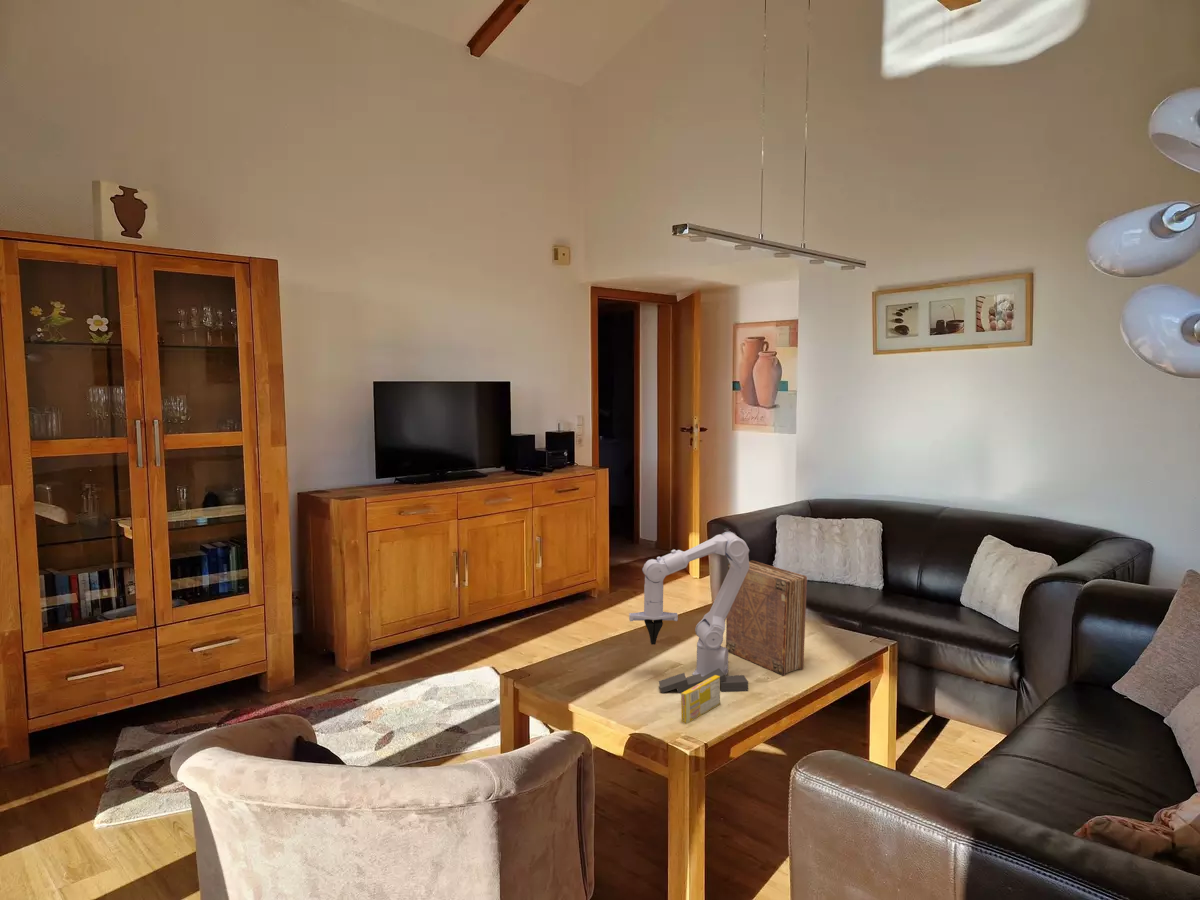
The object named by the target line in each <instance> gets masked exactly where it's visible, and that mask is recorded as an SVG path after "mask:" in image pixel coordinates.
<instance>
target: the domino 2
mask: <svg viewBox="0 0 1200 900" xmlns="http://www.w3.org/2000/svg"><path fill="white" fill-rule="evenodd" d="M686 679H687V682H688V685H685V686H682V687H679V688H676V691H677V694H681V693H682V692H684V691H686V690H688V689H690V688H692V687H694V686H695V685H697V684H699V683H701V682H703V679H702V676H701V674H697V675H691V676H688V677H686Z"/></svg>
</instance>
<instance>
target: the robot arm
mask: <svg viewBox="0 0 1200 900" xmlns="http://www.w3.org/2000/svg"><path fill="white" fill-rule="evenodd" d="M749 553H750V549H749V547H748V544H747V542H746V541H745V540H744V539H742V538H740V537H739V536H737V534H735V533H734V532H733V531H732V532H731V531H725V532H722V533H721V534H716V535H714V536H713V537H712V538H710V539H707V540H706V541H704V542H702V543H699V544H697V545H695V546H692V547H691V548H689V549H687V550H685V551H683V550H681V549H677V550H676V549H674V548H673V549H672V550H670V553H667V554H665V555H662V556H657V557H656V559H654V558H651V559H648V560H647V561H645V563H644V564H643V567H642V573H643V574H644V585H643V587H644V589H643V590H644V591H643V595H644V596H643V597H644V598H643V599H644V600H643V611H638V612H629V613H628V614H629V615H628V619H629V622H634V621H635V622H637V621H644V625H645V627H646V629H647V631H648V634H649V635H648V636H649V642H650V645H651V646H653V645H657V639H658V636H659V633H660V632H661V629H662V627H663V625H664V622H663V621H674V622H678V619H679V618H678V617H679V615H678V613H677V612H666V611H664V579H665V578H666V577H667V576H669V575H672V574H674V573H676V572H678V571H679V572H680V571H681V570H683V569H686V568H687V567H688V565H689V563H690V562H692V561H695V560H698V559H701V558H703V557H707V556H709V555H711V554H716V555H717V554H718V555H720V556H726V558H727V560H728V564H729V563H730V565H731V566H730V569H729V571H728V570H727V573H726V576H725V577H724V579H723V582H722V584H721V585H720V588H719V590H718V592H717V594H716V597H715V599H714V601H713V604H711V605H712V606H711V607H710V610H709V611H708V612H707V613H705V614H704V615H703V617H702V619H701V620H700V621H699V622H698V623H697V624H696V626H695V629H694V630H695V634H696V636H697V638H698V639H697V642H696V668H695V670H693V672H692V674H691V676H693V675H697V674H701V676H702V677H703V676H705V675H707V674H709V673H711V672H713V671H715V670H716V669H718V668H719V669H720V670H721V671H722V672H723V673H724V674H725V676H727V674H728V673H729V652H728V648H726V646H725V647H724V646H722V644H723V641H724V632H726V631H725V630H726V620H727V615H728V613H729V611H730V608H731V606H732V604H733V602H734V600H735V598H736V596H737V593H738V591H739V589H740V587H741V585H742V583H743V581H744V578H745V576H746V574H747V572H748V570H749V560H750V558H749V557H750V556H749Z"/></svg>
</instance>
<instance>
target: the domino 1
mask: <svg viewBox="0 0 1200 900" xmlns="http://www.w3.org/2000/svg"><path fill="white" fill-rule="evenodd" d="M686 678H687V677H686V674H685V672H682V673H679V674H675V675H673V676H669V677H667V678H663V679H661V680H658V685H659V689H660V691H661V694H663V693H667V692H670V691H672V690H677V688H679V687H682V686H685V685H688V682H687V679H686Z"/></svg>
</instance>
